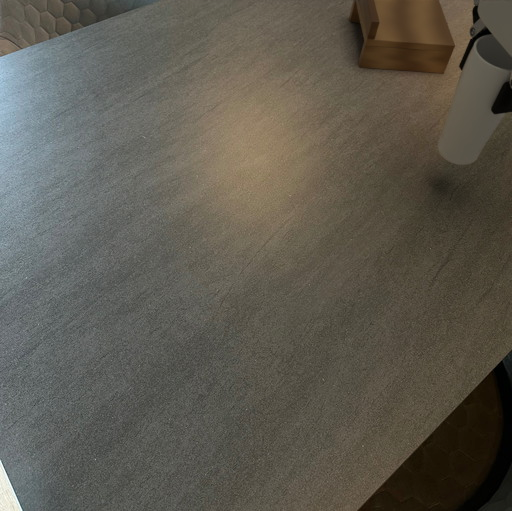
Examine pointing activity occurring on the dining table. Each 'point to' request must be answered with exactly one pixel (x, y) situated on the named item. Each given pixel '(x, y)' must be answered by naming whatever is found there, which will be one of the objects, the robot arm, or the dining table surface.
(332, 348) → the dining table surface
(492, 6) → the robot arm
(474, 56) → the drinking glass
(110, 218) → the dining table surface
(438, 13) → the tan wooden box
